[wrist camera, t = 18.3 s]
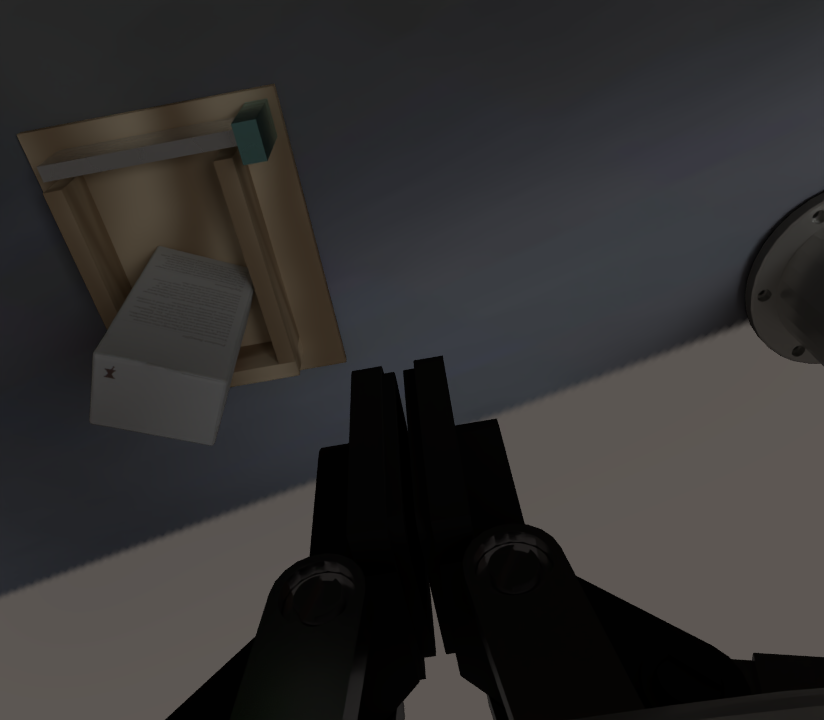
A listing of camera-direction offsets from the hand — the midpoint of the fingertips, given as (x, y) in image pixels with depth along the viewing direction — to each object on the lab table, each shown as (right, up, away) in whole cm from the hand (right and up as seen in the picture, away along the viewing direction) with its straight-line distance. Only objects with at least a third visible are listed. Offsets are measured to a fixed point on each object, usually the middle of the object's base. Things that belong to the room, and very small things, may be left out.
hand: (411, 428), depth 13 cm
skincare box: (-13, +6, +30) cm, 33 cm away
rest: (-13, +7, +29) cm, 32 cm away
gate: (-13, +13, +24) cm, 31 cm away
